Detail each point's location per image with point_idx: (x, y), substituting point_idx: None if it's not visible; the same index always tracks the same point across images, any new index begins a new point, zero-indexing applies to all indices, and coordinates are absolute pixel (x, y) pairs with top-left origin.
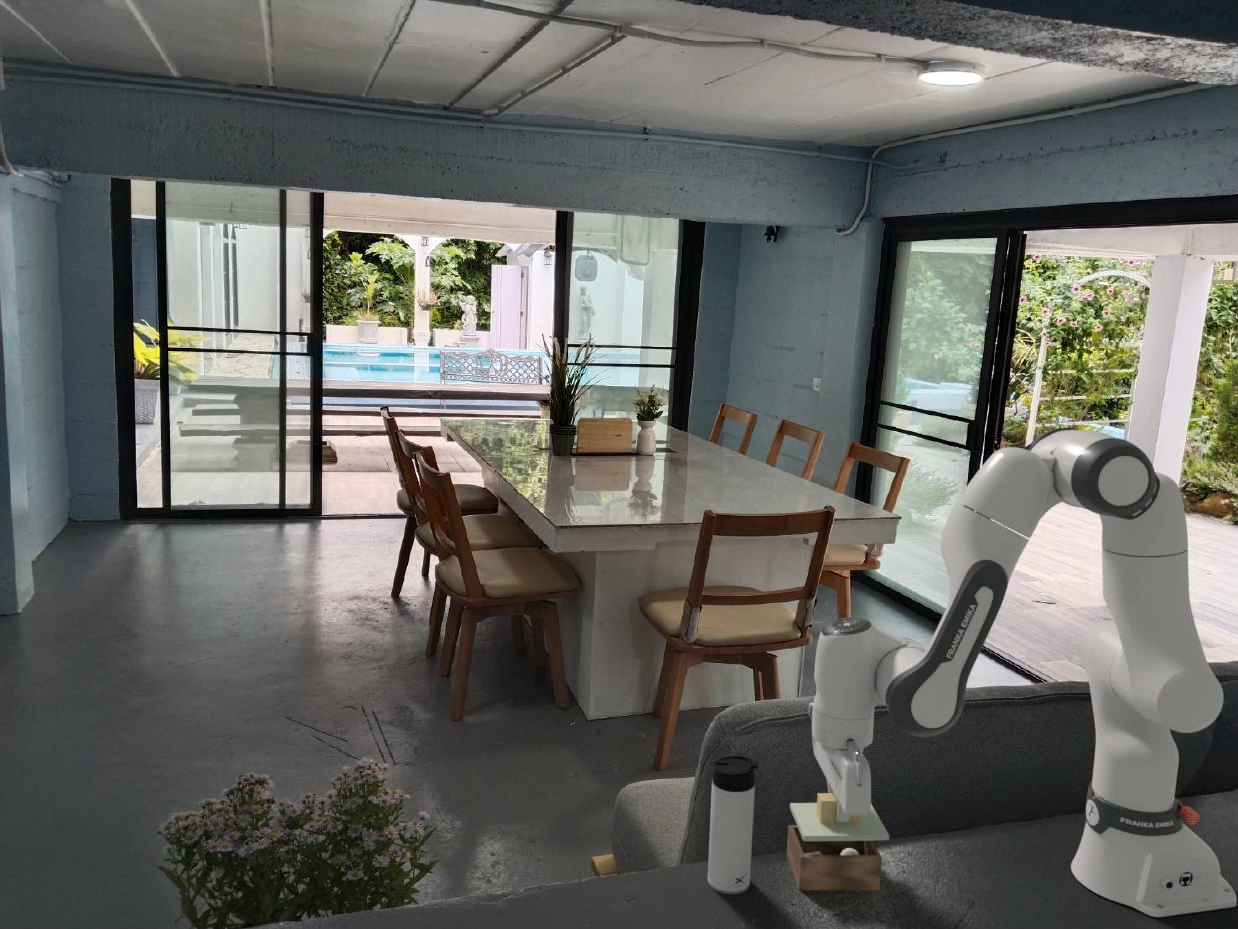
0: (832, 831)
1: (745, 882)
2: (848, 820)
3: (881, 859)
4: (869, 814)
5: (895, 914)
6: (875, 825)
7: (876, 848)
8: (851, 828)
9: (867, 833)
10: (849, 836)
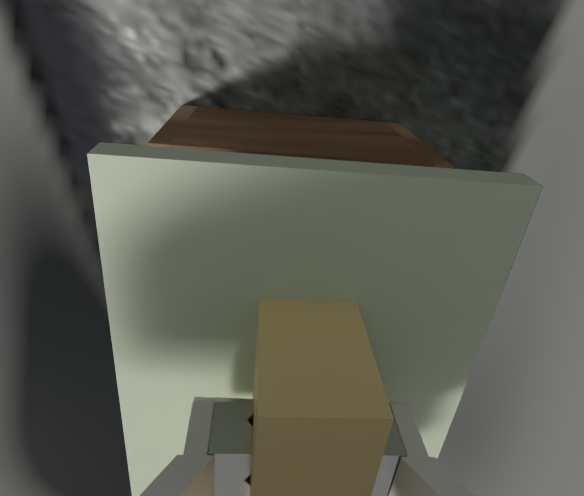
0: None
1: None
2: (406, 402)
3: (450, 164)
4: (268, 219)
5: (509, 107)
6: (412, 230)
7: (374, 162)
8: (408, 359)
9: (479, 300)
10: (465, 378)
